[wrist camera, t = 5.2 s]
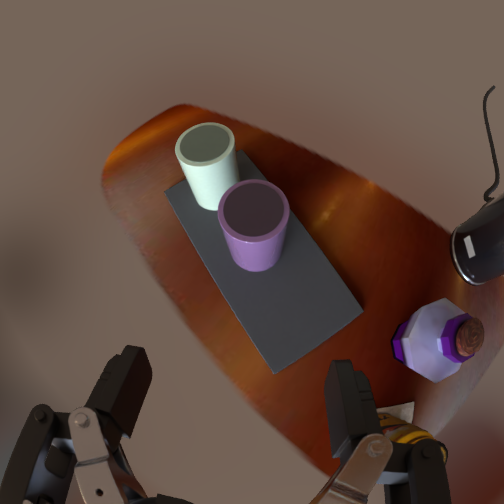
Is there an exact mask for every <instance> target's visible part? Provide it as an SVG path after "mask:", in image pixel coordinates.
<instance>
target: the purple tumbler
mask: <svg viewBox="0 0 504 504" xmlns="http://www.w3.org/2000/svg"><path fill="white" fill-rule="evenodd" d="M289 213H290V208H289V203H288V200H287V198H286V196H285V195H284V193H283V192H282V191H281V190H280V189H279V188H278V187H277V186H275V185H274V184H272V183H270V182H267V181H264V180H258V179H250V180H244V181H241V182H238V183H236V184H234V185H233V186H231V187H230V188H229V189H228V190H227V191H226V192H225V193H224V194H223V196H222V197H221V199H220V202H219V205H218V219H219V222H220V225H221V228H222V231H223V234H224V237H225V239H226V242H227V245H228V248H229V251H230V254H231V256H232V258H233V260H234V261H235V263H236V264H237V265H239V266H240V267H241V268H243V269H245V270H248V271H253V272H258V271H264V270H267V269H269V268H271V267H272V266H273V265H274V264H275V263H276V262H277V261H278V260H279V258H280V256H281V254H282V250H283V245H284V240H285V235H286V230H287V225H288V220H289Z"/></svg>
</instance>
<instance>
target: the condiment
mask: <svg viewBox="0 0 504 504" xmlns="http://www.w3.org/2000/svg"><path fill="white" fill-rule="evenodd" d="M413 410H414V402H411V403H406V404H402V405H397V406H391V407H386V408H379V409H377V413H378V417H379V421H380V425H381V429H382V431H383V433H384V435H385V436H386V437H388V438H389V439H390V440H391V441H394V442H398V443H408V444H415V443H417V442H418V441H419V440H421V439H424V438H430V439H433V440H435V441H437V440H436V439H434V438H433V436H432V435H431V434H429V433H428V431H426V430H422V429H421V428H419V427H417V426H414V425H412V424H411V423H412V418H413ZM437 442H438V444H439V445H440V447H441V450H442V455H443V459H444V464H445V465H446V462H447V458H448V451H447V449H446V447H445V445H444V444H443V443H441V442H440V441H437Z"/></svg>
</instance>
